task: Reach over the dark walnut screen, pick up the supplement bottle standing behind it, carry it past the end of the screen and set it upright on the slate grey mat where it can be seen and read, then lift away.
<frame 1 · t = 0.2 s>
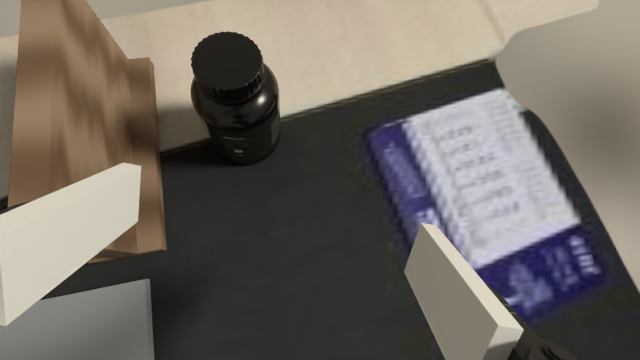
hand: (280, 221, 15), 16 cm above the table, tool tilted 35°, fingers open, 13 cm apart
walnut screen: (127, 154, 31), on the table
supplement bottle: (247, 136, 33), on the table
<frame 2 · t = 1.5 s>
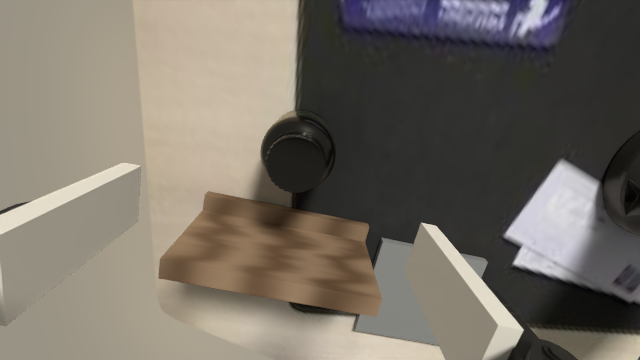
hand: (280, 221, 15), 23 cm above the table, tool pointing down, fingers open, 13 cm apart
slate mat: (416, 292, 43), on the table
walnut screen: (284, 229, 40), on the table
supplement bottle: (302, 138, 37), on the table
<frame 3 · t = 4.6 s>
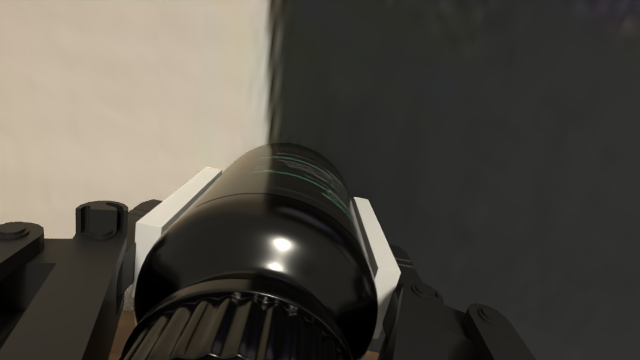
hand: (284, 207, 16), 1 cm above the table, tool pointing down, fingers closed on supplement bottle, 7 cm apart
supplement bottle: (285, 202, 17), on the table, touching gripper
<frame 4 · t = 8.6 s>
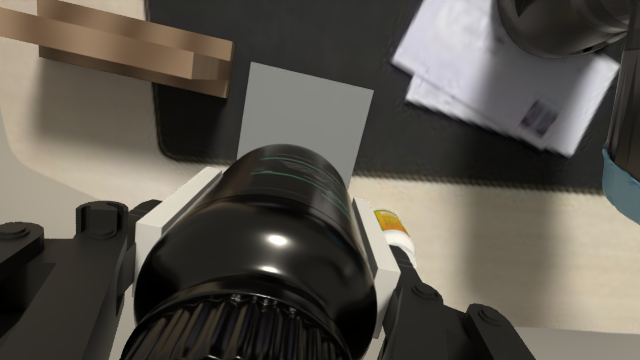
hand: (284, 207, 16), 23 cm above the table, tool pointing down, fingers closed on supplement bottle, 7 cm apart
slate mat: (301, 135, 38), on the table
supplement bottle 2: (379, 225, 42), on the table
walnut screen: (141, 50, 35), on the table
supplement bottle: (285, 202, 17), point 22 cm above the table, touching gripper
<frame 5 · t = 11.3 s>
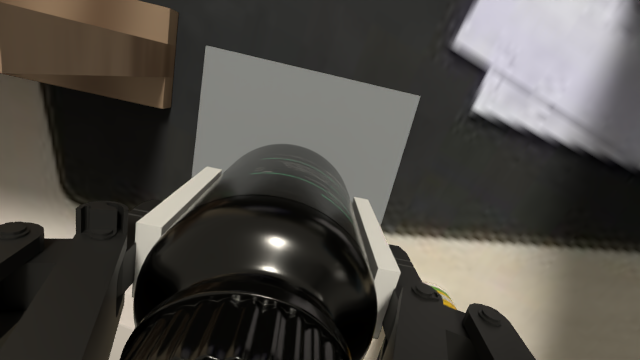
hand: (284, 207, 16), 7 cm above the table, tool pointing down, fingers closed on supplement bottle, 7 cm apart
slate mat: (295, 170, 23), on the table
walnut screen: (15, 25, 20), on the table
supplement bottle: (285, 203, 17), point 6 cm above the table, touching gripper
when the fingers open (3 cm above the table, at t = 13.1 s): supplement bottle drops 1 cm, resting on slate mat.
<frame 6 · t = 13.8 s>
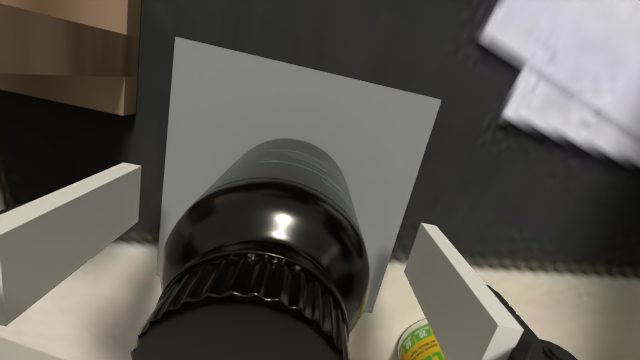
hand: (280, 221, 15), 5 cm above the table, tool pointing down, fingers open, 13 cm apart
slate mat: (288, 188, 19), on the table
supplement bottle 2: (431, 342, 23), on the table
supplement bottle: (288, 193, 18), point 1 cm above the table, touching slate mat
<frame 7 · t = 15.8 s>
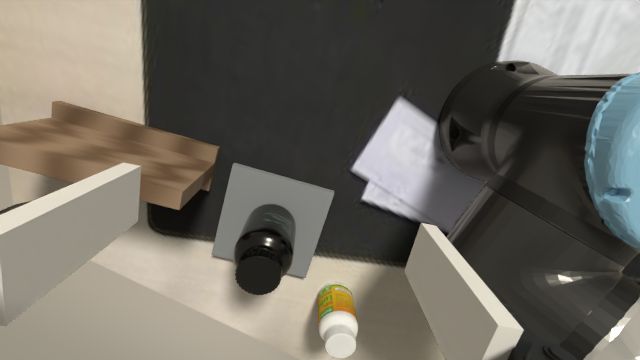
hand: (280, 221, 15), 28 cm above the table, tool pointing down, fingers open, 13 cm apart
slate mat: (272, 221, 45), on the table
supplement bottle 2: (334, 295, 49), on the table
walnut screen: (139, 146, 41), on the table
supplement bottle: (271, 224, 44), point 1 cm above the table, touching slate mat
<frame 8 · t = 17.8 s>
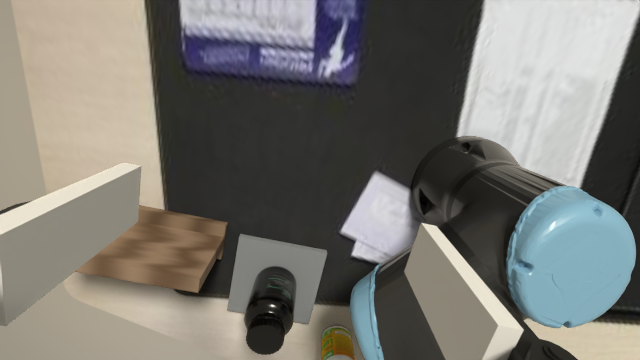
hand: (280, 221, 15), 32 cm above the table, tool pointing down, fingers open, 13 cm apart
slate mat: (276, 279, 52), on the table
supplement bottle 2: (336, 335, 56), on the table
walnut screen: (161, 227, 49), on the table
supplement bottle: (276, 282, 52), point 1 cm above the table, touching slate mat
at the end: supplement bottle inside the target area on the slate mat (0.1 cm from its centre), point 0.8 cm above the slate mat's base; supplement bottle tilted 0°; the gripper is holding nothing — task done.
